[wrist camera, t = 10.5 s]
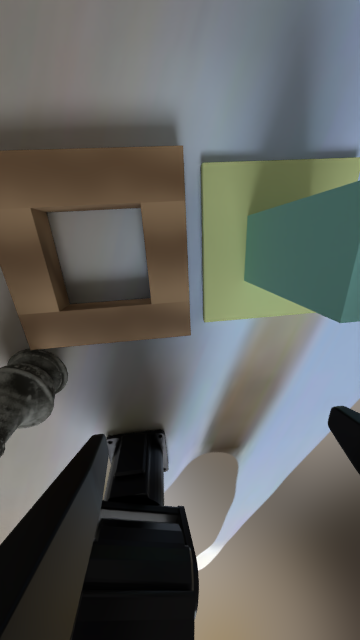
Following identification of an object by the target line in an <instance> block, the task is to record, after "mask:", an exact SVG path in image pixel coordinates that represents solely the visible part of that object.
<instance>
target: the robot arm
mask: <svg viewBox="0 0 360 640" xmlns="http://www.w3.org/2000/svg"><path fill="white" fill-rule="evenodd" d="M328 426H329V428H330V430H331V432H332V433H333V435H334V436H335V438H336V440H337V441H338V442H339V444H340V446H341V447H342V449H343V450H344V452H345V453H346V455H347V457H348V458H349V460H350V461H351V463H352V464H353V466H354V467H355V469H356V470H357V472H358V473H359V474H360V413H358V412H355V411H353V410H351V409H349V408H347V407H345V406H336V407H332V409H331V411H330V415H329V419H328ZM108 455H109V458H110V462H111V468H110V473H109V477H108V482H107V487H106V491H105V496H104V500H102V498H103V491H104V484H105V477H106V470H107V463H108ZM166 471H168V459H167V450H166V441H165V433H164V431H163V430H154V431H146V432H138V433H130V434H122V435H114V436H108V437H107V439H106V437H105V435H104V434H97V435H93V436H92V437H91V438H90V439H89V440H88V441H87V442H86V444H85V445H84V446H83V447H82V448H81V450H80V451H79V452H78V453H77V454H76V456H75V457H74V458H73V459H72V460H71V461H70V463H69V464H68V465H67V466H66V467H65V469H64V470H63V471H62V472H61V473H60V475H59V476H58V477H57V478H56V479H55V480H54V482H53V483H52V484H51V485H50V486H49V488H48V489H47V490H46V491H45V492H44V494H43V495H42V496H41V497H40V498H39V499H38V501H37V502H36V503H35V504H34V505H33V507H32V508H31V509H30V510H29V511H28V513H27V514H26V515H25V516H24V517H23V519H22V520H21V521H20V522H19V523H18V524H17V526H16V527H15V528H14V529H13V530H12V532H11V533H10V534H9V535H8V536H7V538H6V539H5V540H4V541H3V542H2V543H1V545H0V640H194V619H195V617H196V613H197V607H198V594H199V579H198V567H197V560H196V555H195V551H194V547H193V542H192V538H191V534H190V530H189V526H188V521H187V517H186V513H185V509H184V506H178V507H172V506H164V473H163V472H166Z"/></svg>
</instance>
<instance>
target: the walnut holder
mask: <svg viewBox="0 0 360 640" xmlns="http://www.w3.org/2000/svg"><path fill="white" fill-rule="evenodd" d="M126 208H141V213H142V222H143V231H144V240H145V249H146V259H147V268H148V277H149V286H150V295H151V298H144V299H131V300H118V301H106V302H93V303H80V304H70V302H69V298H68V295H67V291H66V287H65V283H64V279H63V275H62V271H61V267H60V264H59V260H58V256H57V252H56V248H55V244H54V240H53V236H52V233H51V229H50V225H49V221H48V217H47V213H46V212H64V211H85V210H106V209H126ZM0 266H1V269H2V272H3V274H4V277H5V280H6V283H7V286H8V288H9V291H10V294H11V297H12V299H13V302H14V305H15V308H16V311H17V313H18V316H19V319H20V322H21V325H22V327H23V330H24V333H25V336H26V338H27V341H28V344H29V347H30V350H37V349H48V348H58V347H69V346H80V345H91V344H102V343H113V342H124V341H134V340H145V339H156V338H167V337H178V336H189V335H191V328H190V304H189V280H188V256H187V231H186V207H185V183H184V159H183V146H151V147H115V148H79V149H44V150H8V151H0Z"/></svg>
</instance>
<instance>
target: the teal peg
mask: <svg viewBox="0 0 360 640" xmlns="http://www.w3.org/2000/svg"><path fill="white" fill-rule="evenodd" d="M244 281H246V282H248V283H250V284H253V285H255V286H257V287H260V288H262V289H264V290H266V291H269V292H271V293H273V294H275V295H278V296H280V297H282V298H285V299H287V300H289V301H291V302H294V303H296V304H298V305H300V306H303V307H305V308H307V309H310V310H312V311H314V312H316V313H319V314H321V315H323V316H325V317H328V318H330V319H332V320H335V321H337V322H339V323H346V322H357V321H360V181H357V182H353V183H350V184H347V185H344V186H341V187H337V188H334V189H331V190H328V191H325V192H321V193H318V194H315V195H312V196H309V197H306V198H302V199H299V200H296V201H293V202H290V203H286V204H283V205H280V206H277V207H274V208H270V209H267V210H264V211H261V212H258V213H255V214H251V215H248V217H247V235H246V253H245V271H244Z"/></svg>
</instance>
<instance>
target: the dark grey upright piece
mask: <svg viewBox="0 0 360 640" xmlns="http://www.w3.org/2000/svg"><path fill="white" fill-rule="evenodd" d="M67 378H68V373H67V370H66V367H65V366H64V364H63V362H62V361H61V360H60V359H59V358H58V357H56V356H54V355H53V354H51V353H49V352H46V351H44V350H38V349H37V350H30V349H27V350H23V351H20V352H18V353H17V354H15V355H14V356H12V358H11V359H10V360H9V362H8V365H7V366H4V367H1V368H0V457H1V456H2V455H3V453H4V450H5V443H6V441H7V440H8V439H9V438H10V436H11V435H12V434H13V432H14V431H15V430H16V429H17V428H28V427H32V426H35V425H38V424H40V423H42V422H43V421H45V420H46V419H47V418H48V417H49V416H50V414H51V412H52V410H53V407H54V398H55V394H56V393H58V392H59V391H61V390H62V389H63V388H64V386H65V385H66V382H67Z"/></svg>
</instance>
